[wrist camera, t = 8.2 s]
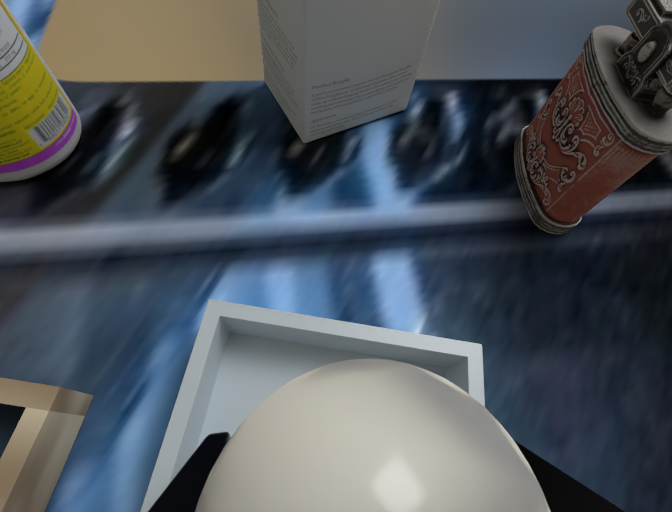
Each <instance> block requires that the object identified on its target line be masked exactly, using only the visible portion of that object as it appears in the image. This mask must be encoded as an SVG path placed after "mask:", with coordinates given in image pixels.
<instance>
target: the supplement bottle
mask: <svg viewBox="0 0 672 512" xmlns="http://www.w3.org/2000/svg"><path fill="white" fill-rule="evenodd" d="M80 135H81V120H80V117H79V114H78V112H77V110H76V109H75V107H74V106H73V104H72V103H71V101H70V99H69V98H68V96H67V95H66V93H65V92H64V90H63V89H62V87H61V86H60V84H59V83H58V81H57V79H56V78H55V76H54V75H53V73H52V72H51V70H50V69H49V67H48V66H47V65H46V63H45V62H44V60H43V58H42V57H41V55H40V54H39V52H38V51H37V49H36V48H35V46H34V45H33V43H32V42H31V40H30V39H29V37H28V36H27V34H26V33H25V31H24V30H23V28H22V27H21V25H20V24H19V22H18V20H17V19H16V17H15V16H14V14H13V13H12V11H11V10H10V8H9V7H8V5H7V4H6V2H5V1H4V0H0V182H10V181H19V180H24V179H28V178H31V177H35V176H37V175H39V174H42V173H44V172H46V171H48V170H50V169H52V168H54V167H55V166H57V165H58V164H60V163H61V162H62V161H64V160H65V159H66V158H67V157H68V156H69V155H70V154H71V153H72V152H73V150H74V149H75V147H76V145H77V144H78V141H79V139H80Z"/></svg>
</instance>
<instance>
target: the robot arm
mask: <svg viewBox="0 0 672 512" xmlns="http://www.w3.org/2000/svg"><path fill="white" fill-rule="evenodd" d="M230 438H231V437H230V434H229V433H228V432H219V433H212V434H209V435H208V436H207V437H206V438H205V439H204V440H203V442H202V443H201V444H200V445H199V447H198V448H197V449H196V451H195V452H194V453H193V454H192V456H191V457H190V458H189V460H188V461H187V462H186V463H185V465H184V466H183V467H182V468H181V470H180V471H179V472H178V474H177V475H176V476H175V477H174V479H173V480H172V481H171V483H170V484H169V485H168V486H167V488H166V489H165V490H164V491H163V493H162V494H161V495H160V497H159V498H158V499H157V500H156V502H155V503H154V504H153V506H152V507H151V508H150V509H149V511H148V512H195V511H196V507H197V504H198V501H199V498H200V496H201V493H202V491H203V488H204V486H205V484H206V481H207V479H208V476H209V474H210V472H211V470H212V468H213V466H214V465H215V463H216V461H217V459H218V457H219V456H220V454H221V452H222V450H223V448H224V447H225V445H226V444H227V443H228V441H229V440H230ZM514 442H515V443H516V445H517V446H518V448H519V449H520V451H521V452H522V454H523V455H524V457H525V459H526V460H527V462H528V463H529V465H530V467H531V469H532V471H533V473H534V475H535V477H536V479H537V481H538V483H539V485H540V487H541V489H542V491H543V494H544V496H545V499H546V501H547V504H548V506H549V509H550V511H551V512H624V511H623V510H621V509H620V508H618V507H617V506H615V505H614V504H612V503H611V502H609V501H607V500H606V499H604V498H603V497H601V496H600V495H598V494H597V493H595V492H593V491H592V490H590V489H589V488H587V487H586V486H584V485H583V484H581V483H579V482H578V481H576V480H575V479H573V478H572V477H570V476H569V475H567V474H565V473H564V472H562V471H561V470H559V469H558V468H556V467H555V466H553V465H551V464H550V463H548V462H547V461H545V460H544V459H542V458H541V457H539V456H538V455H536V454H534V453H533V452H531V451H530V450H528V449H527V448H525V447H524V446H522V445H520V444H519V443H517V442H516V441H514Z"/></svg>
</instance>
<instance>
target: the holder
mask: <svg viewBox="0 0 672 512" xmlns="http://www.w3.org/2000/svg"><path fill="white" fill-rule="evenodd" d="M93 397H94V396H93V395H89V394H85V393H81V392H77V391H73V390H69V389H65V388H61V387H56V386H50V385H43V384H37V383H31V382H25V381H19V380H12V379H6V378H0V403H2V404H9V405H15V406H21V407H26V409H25V411H24V413H23V415H22V417H21V419H20V421H19V423H18V425H17V427H16V429H15V431H14V433H13V435H12V437H11V439H10V441H9V443H8V445H7V447H6V449H5V451H4V453H3V455H2V457H1V459H0V512H45V509H46V507H47V505H48V502H49V500H50V498H51V495H52V493H53V491H54V488H55V486H56V484H57V481H58V479H59V477H60V474H61V472H62V469H63V467H64V465H65V462H66V460H67V458H68V455H69V453H70V451H71V448H72V446H73V444H74V441H75V439H76V437H77V434H78V432H79V429H80V427H81V425H82V422H83V420H84V418H85V415H86V413H87V411H88V408H89V406H90V404H91V401H92V399H93Z"/></svg>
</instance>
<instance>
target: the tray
mask: <svg viewBox="0 0 672 512" xmlns="http://www.w3.org/2000/svg"><path fill="white" fill-rule="evenodd" d="M354 359H384V360H393V361H398V362H402V363H407V364H411V365H414V366H417V367H420V368H423V369H425V370H428V371H431V372H433V373H435V374H437V375H439V376H441V377H443V378H445V379H447V380H449V381H450V382H452V383H453V384H455V385H456V386H458V387H459V388H461V389H462V390H464V391H466V392H467V393H468V394H469V395H470V396H472V397H473V398H474V399H475V400H477V401H478V402H479V403H480V404H481V405H483V406H484V407H485V401H484V379H483V358H482V344H476V343H470V342H464V341H458V340H452V339H446V338H440V337H434V336H428V335H422V334H416V333H410V332H404V331H398V330H392V329H386V328H380V327H374V326H368V325H362V324H356V323H350V322H344V321H338V320H332V319H326V318H320V317H314V316H308V315H302V314H296V313H290V312H284V311H278V310H272V309H266V308H260V307H254V306H248V305H242V304H236V303H230V302H224V301H218V300H212V299H209V301H208V304H207V307H206V310H205V313H204V316H203V319H202V322H201V326H200V329H199V332H198V335H197V338H196V341H195V344H194V347H193V350H192V353H191V356H190V360H189V363H188V366H187V369H186V372H185V375H184V378H183V381H182V384H181V387H180V390H179V394H178V397H177V400H176V403H175V406H174V409H173V412H172V415H171V418H170V421H169V425H168V428H167V431H166V434H165V437H164V440H163V443H162V446H161V449H160V452H159V455H158V459H157V462H156V465H155V468H154V471H153V474H152V477H151V480H150V483H149V486H148V489H147V493H146V496H145V499H144V502H143V505H142V508H141V511H140V512H148V511H149V509H150V508H151V507H152V506H153V504H154V503H155V502H156V500H157V499H158V498H159V497H160V495H161V494H162V493H163V491H164V490H165V489H166V488H167V486H168V485H169V484H170V483H171V481H172V480H173V479H174V477H175V476H176V475H177V474H178V472H179V471H180V470H181V468H182V467H183V466H184V465H185V463H186V462H187V461H188V460H189V458H190V457H191V456H192V454H193V453H194V452H195V451H196V449H197V448H198V447H199V445H200V444H201V443H202V442H203V440H204V439H205V438H206V437H207V436H208V435H209V434H212V433H219V432H228V433H229V434H230V437H232V435H233V434H234V433H235V431H236V430H237V428H238V427H239V426H240V425H241V424H242V422H243V421H244V420H245V419H246V418H247V417H248V416H249V415H250V414H251V412H252V411H253V410H254V409H255V408H256V407H257V406H258V405H259V404H261V403H262V402H263V401H264V400H265V399H266V398H267V397H269V396H270V395H271V394H272V393H273V392H275V391H276V390H278V389H279V388H281V387H282V386H284V385H285V384H287V383H288V382H289V381H291V380H293V379H295V378H297V377H299V376H301V375H303V374H305V373H307V372H309V371H311V370H314V369H316V368H319V367H322V366H325V365H328V364H331V363H336V362H341V361H346V360H354Z"/></svg>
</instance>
